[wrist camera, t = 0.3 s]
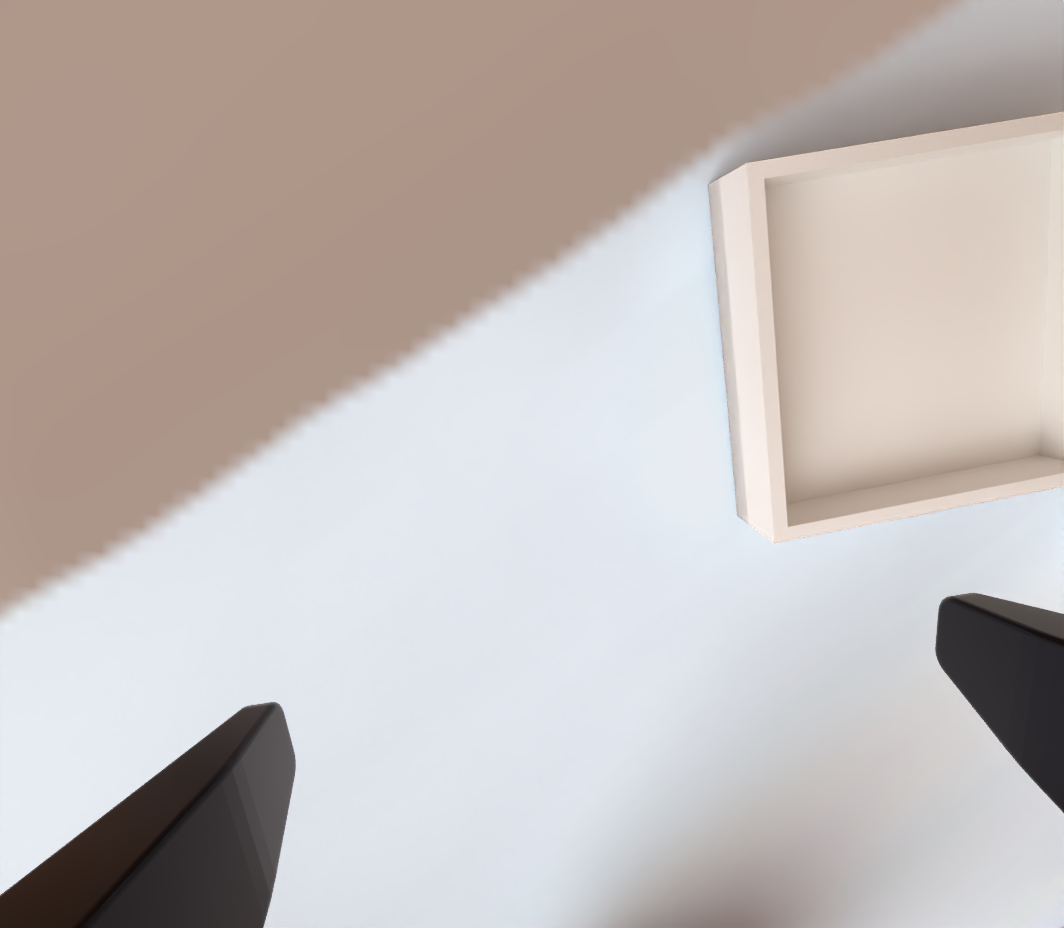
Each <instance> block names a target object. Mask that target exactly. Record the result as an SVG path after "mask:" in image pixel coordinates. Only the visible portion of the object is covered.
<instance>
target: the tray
mask: <svg viewBox="0 0 1064 928" xmlns="http://www.w3.org/2000/svg"><path fill="white" fill-rule="evenodd" d="M708 192H709V203H710V214H711V225H712V237H713V248H714V259H715V271H716V282H717V293H718V304H719V316H720V327H721V338H722V350H723V361H724V372H725V383H726V395H727V406H728V417H729V428H730V440H731V451H732V462H733V474H734V485H735V496H736V507H737V516H738V517H739V518H741V519H742V520H743V521H745V522H746V523H747V524H749V525H750V526H752V527H753V528H754V529H756V530H757V531H758V532H760V533H761V534H762V535H764V536H765V537H766V538H768V539H769V540H770V541H772V542H773V543H780V542H785V541H790V540H795V539H800V538H805V537H810V536H815V535H820V534H825V533H831V532H836V531H841V530H846V529H851V528H856V527H861V526H866V525H871V524H876V523H881V522H886V521H891V520H896V519H902V518H907V517H912V516H917V515H922V514H927V513H932V512H937V511H942V510H947V509H952V508H957V507H962V506H967V505H973V504H978V503H983V502H988V501H993V500H998V499H1003V498H1008V497H1013V496H1018V495H1023V494H1028V493H1033V492H1039V491H1044V490H1049V489H1054V488H1059V487H1064V111H1063V112H1057V113H1051V114H1045V115H1039V116H1033V117H1026V118H1020V119H1014V120H1008V121H1002V122H996V123H989V124H983V125H977V126H971V127H965V128H959V129H952V130H946V131H940V132H934V133H928V134H922V135H916V136H909V137H903V138H897V139H891V140H885V141H879V142H872V143H866V144H860V145H854V146H848V147H842V148H835V149H829V150H823V151H817V152H811V153H805V154H798V155H792V156H786V157H780V158H774V159H768V160H762V161H755V162H749V163H746V164H744V165H742V166H740V167H739V168H737V169H735V170H733V171H732V172H730V173H728V174H726V175H725V176H723V177H721V178H719V179H718V180H716V181H714V182H713V183H711V184H709V185H708Z"/></svg>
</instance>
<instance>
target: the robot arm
mask: <svg viewBox="0 0 1064 928" xmlns="http://www.w3.org/2000/svg"><path fill="white" fill-rule="evenodd" d="M935 648H936V656H937V659H938V662H939V664H940V666H941V667H942V669H943V670H944V671H945V673H946V674H947V675H948V676H949V678H950V679H951V680H952V681H953V683H954V684H955V685H956V687H957V688H958V689H959V690H960V692H961V693H962V694H963V695H964V697H965V698H966V699H967V700H968V702H969V703H970V704H971V705H972V707H973V708H974V709H975V710H976V712H977V713H978V714H979V715H980V717H981V718H982V719H983V720H984V722H985V723H986V724H987V725H988V727H989V728H990V729H991V731H992V732H993V733H994V734H995V736H996V737H997V738H998V739H999V741H1000V742H1001V743H1002V744H1003V746H1004V747H1005V748H1006V749H1007V751H1008V752H1009V753H1010V754H1011V755H1012V757H1013V758H1014V759H1015V760H1016V761H1017V763H1018V764H1019V765H1020V766H1021V767H1022V768H1023V770H1024V771H1025V772H1026V773H1027V774H1028V775H1029V776H1030V777H1031V778H1032V780H1033V781H1034V782H1035V783H1036V784H1037V785H1038V786H1039V787H1040V788H1041V789H1042V790H1043V791H1044V792H1045V794H1046V795H1047V796H1048V797H1049V798H1050V799H1051V800H1052V801H1053V802H1054V803H1055V804H1056V805H1057V806H1058V807H1059V808H1060V810H1061V811H1062V812H1063V813H1064V614H1061V613H1057V612H1053V611H1049V610H1045V609H1040V608H1036V607H1032V606H1028V605H1024V604H1020V603H1015V602H1011V601H1007V600H1003V599H999V598H994V597H990V596H986V595H982V594H977V593H968V594H962V595H956V596H950V597H946V598H945V599H943V600H942V602H941V604H940V605H939V612H938V623H937V635H936V647H935ZM295 767H296V763H295V754H294V749H293V746H292V742H291V738H290V734H289V731H288V727H287V723H286V719H285V716H284V712H283V710H282V708H281V706H280V705H279V704H278V703H276V702H270V703H263V704H257V705H250V706H246V707H244V708H242V709H241V710H240V711H238V712H237V713H236V714H234V715H233V716H232V717H231V718H229V719H228V720H227V721H225V722H224V723H223V724H222V725H220V726H219V727H218V728H216V729H215V730H214V731H212V732H211V733H210V734H209V735H207V736H206V737H205V738H203V739H202V740H201V741H200V742H198V743H197V744H196V745H194V746H193V747H192V748H190V749H189V750H188V751H187V752H185V753H184V754H183V755H181V756H180V757H179V758H177V759H176V760H175V761H174V762H172V763H171V764H170V765H168V766H167V767H166V768H165V769H163V770H162V771H161V772H159V773H158V774H157V775H155V776H154V777H153V778H152V779H150V780H149V781H148V782H146V783H145V784H144V785H143V786H141V787H140V788H139V789H137V790H136V791H135V792H133V793H132V794H131V795H130V796H128V797H127V798H126V799H124V800H123V801H122V802H120V803H119V804H118V805H117V806H115V807H114V808H113V809H111V810H110V811H109V812H108V813H106V814H105V815H104V816H102V817H101V818H100V819H98V820H97V821H96V822H95V823H93V824H92V825H91V826H89V827H88V828H87V829H86V830H84V831H83V832H82V833H80V834H79V835H78V836H76V837H75V838H74V839H73V840H71V841H70V842H69V843H67V844H66V845H65V846H64V847H62V848H61V849H60V850H58V851H57V852H56V853H54V854H53V855H52V856H51V857H49V858H48V859H47V860H45V861H44V862H43V863H41V864H40V865H39V866H38V867H36V868H35V869H34V870H32V871H31V872H30V873H29V874H27V875H26V876H25V877H23V878H22V879H21V880H19V881H18V882H17V883H16V884H14V885H13V886H12V887H10V888H9V889H8V890H7V891H5V892H4V893H3V894H1V895H0V928H263V927H264V923H265V920H266V916H267V912H268V908H269V905H270V901H271V897H272V892H273V888H274V883H275V878H276V873H277V868H278V862H279V857H280V852H281V846H282V841H283V835H284V830H285V825H286V819H287V814H288V809H289V803H290V798H291V793H292V787H293V782H294V776H295Z"/></svg>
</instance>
